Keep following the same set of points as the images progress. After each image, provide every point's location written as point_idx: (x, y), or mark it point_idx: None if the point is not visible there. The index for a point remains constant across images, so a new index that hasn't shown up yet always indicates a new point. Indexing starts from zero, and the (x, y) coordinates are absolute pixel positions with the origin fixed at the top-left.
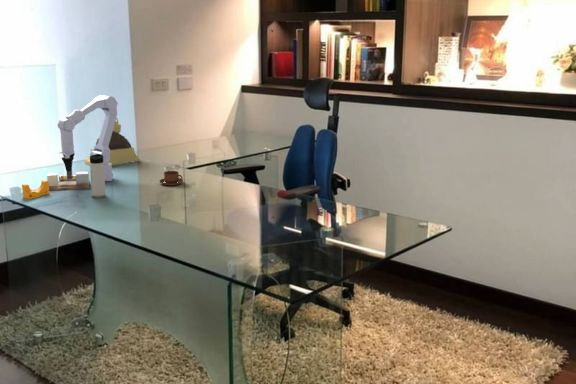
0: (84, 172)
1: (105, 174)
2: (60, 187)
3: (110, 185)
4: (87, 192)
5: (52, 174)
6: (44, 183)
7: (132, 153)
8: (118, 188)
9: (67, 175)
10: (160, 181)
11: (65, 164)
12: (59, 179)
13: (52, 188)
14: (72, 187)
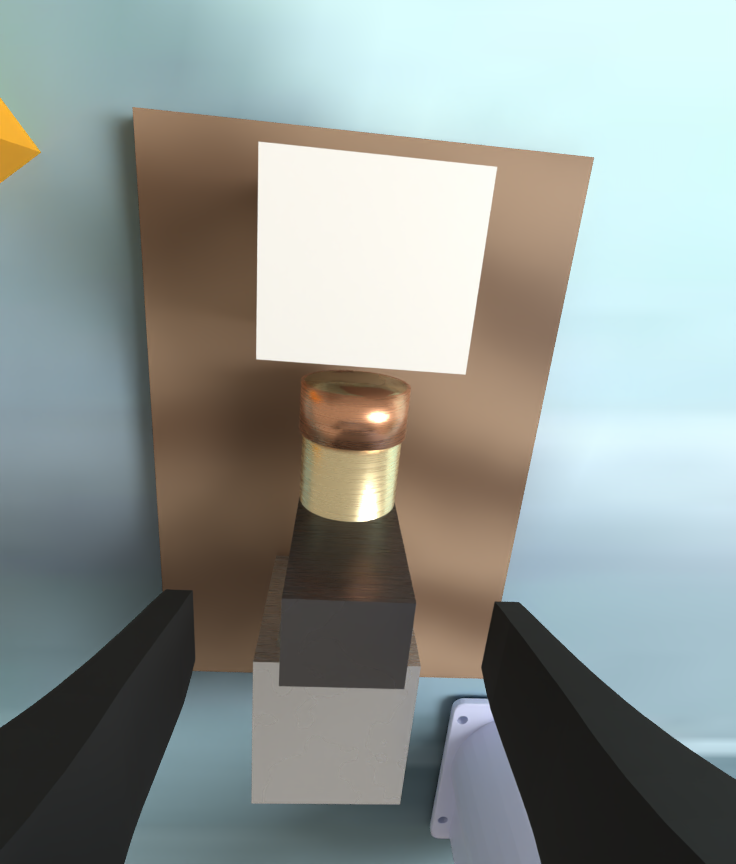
0: (355, 764)
1: (468, 861)
2: (181, 368)
3: (270, 812)
4: (10, 639)
5: (346, 274)
6: None
7: None
8: (143, 859)
9: (294, 535)
10: None
11: (27, 730)
12: (302, 383)
13: (143, 252)
14: (158, 512)
